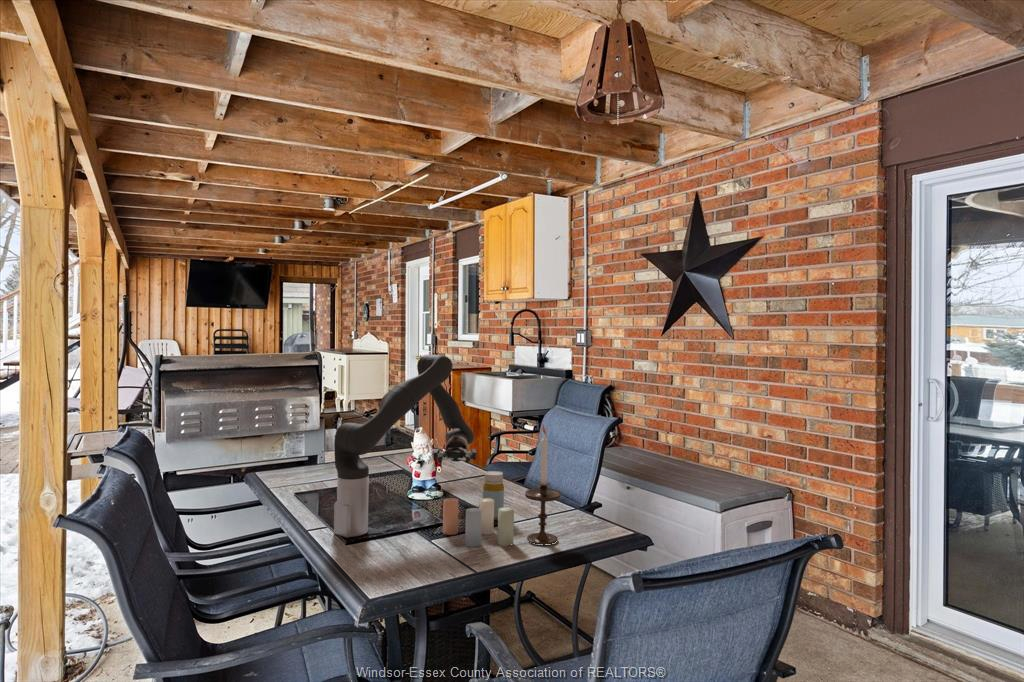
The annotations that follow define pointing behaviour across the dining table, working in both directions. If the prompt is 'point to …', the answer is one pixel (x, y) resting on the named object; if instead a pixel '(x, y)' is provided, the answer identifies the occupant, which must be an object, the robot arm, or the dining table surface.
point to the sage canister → (505, 526)
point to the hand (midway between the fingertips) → (453, 460)
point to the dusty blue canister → (473, 527)
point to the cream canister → (487, 515)
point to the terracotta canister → (450, 516)
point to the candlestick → (543, 498)
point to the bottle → (494, 489)
